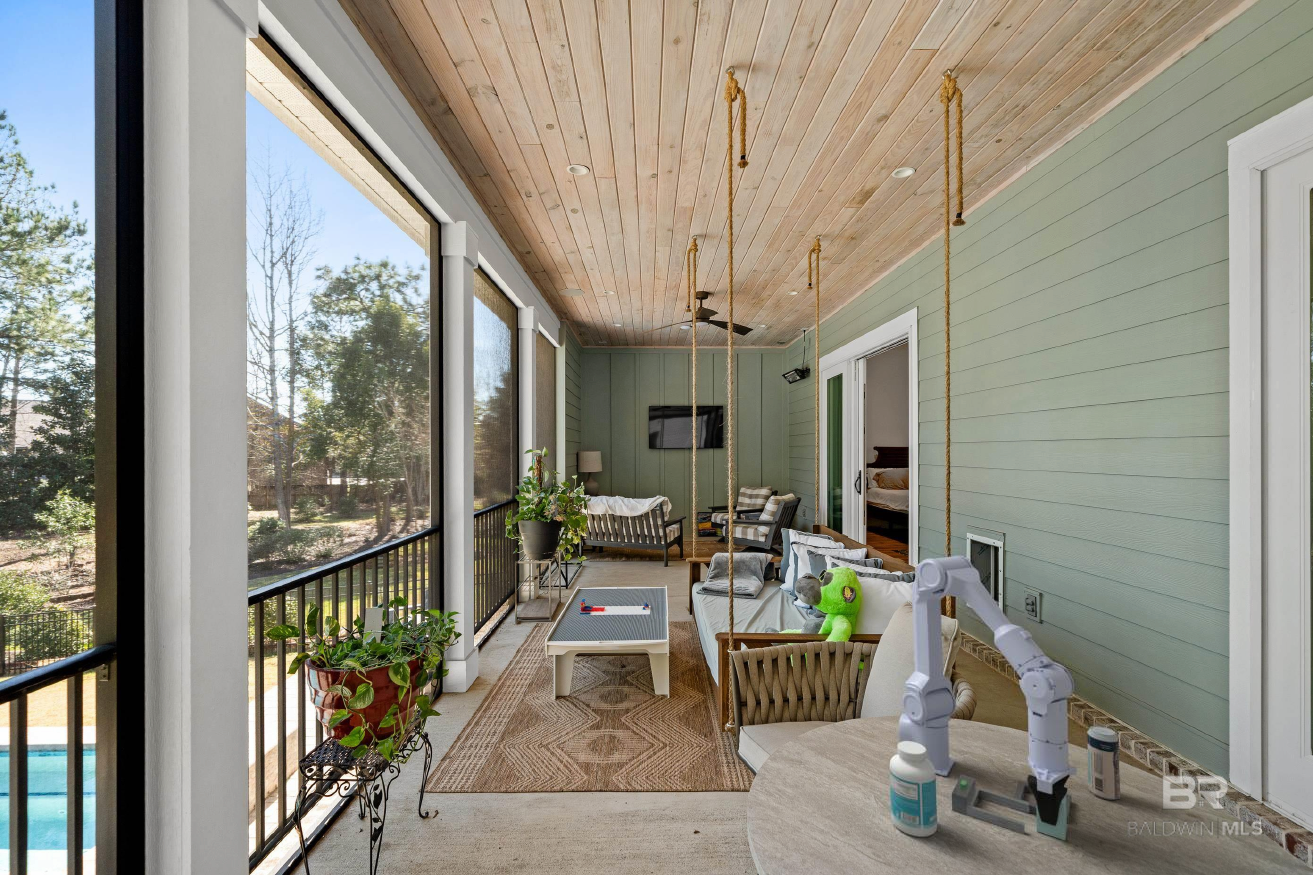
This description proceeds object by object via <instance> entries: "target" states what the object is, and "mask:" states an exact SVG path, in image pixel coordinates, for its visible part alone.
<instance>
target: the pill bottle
mask: <svg viewBox="0 0 1313 875" xmlns="http://www.w3.org/2000/svg"><path fill="white" fill-rule="evenodd" d="M896 748H897V754H895V755H893V756H892V757H891V758H890V761H889V785H890V786H889V787H890V788H889V789H890V790H889V791H890V792H889V793H890V817H891V821H892V823H893V825H894V827H896V828H897V829H898V830H899V831H901V832H902V833H905V834H907V835H909V836H914V837H920V838H925V837H930V836H931V835H933V834H935V833H936V831H937V829H938V816H937V815H938V809H937V808H938V806H937V780H936V776H937V775H936V773H935V768H934V766H933V764H932V763H931V762H930V761H929V760H928V759H926V757H927V754H926V748H925V747H924V746H923V745H921V744H919V743H916V742H911V741H903V742H900V743H899V742H898V743H897V747H896Z"/></svg>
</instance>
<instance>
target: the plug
mask: <svg viewBox="0 0 1313 875" xmlns="http://www.w3.org/2000/svg"><path fill="white" fill-rule="evenodd" d="M1035 804H1036V813H1037V814H1036V831H1037V833H1038V832H1039V833H1042V834H1045V835H1047V836H1051V837H1053V838H1056V839H1060V840H1063V841H1066V838H1067V833H1068V832H1067V829H1068V824H1067V809H1066V795H1065V797H1064V798H1063V800H1062V802H1061V804H1060V808H1059V815H1058V820H1057V824H1056V826H1053V825H1050V824H1047V823H1044V822H1042V821H1041V819H1040V815H1039V812H1038V807H1037V803H1036V802H1035Z"/></svg>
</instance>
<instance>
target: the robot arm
mask: <svg viewBox="0 0 1313 875" xmlns="http://www.w3.org/2000/svg"><path fill="white" fill-rule="evenodd" d="M914 569H915V570H914V571H915V578H914V581H913V583H912V588H911V597H912V600H911V602H912V628H913V631H912V633H913V654H914V655H913V660H914V661H913V662H914V671H913V673H912V674H911V675H910V676H909V677H908V679H907V680H906V681H905V683H904V685H905V686H904V693H903V694H902V699H901V703H902V708H903V710H904V713H902V714H901V715H900V717H899V721H898V732H897V733H898V736H897V737H898V743H900V742H903V741H911V742H916V743H919V744H921V745H923V746H924V747H925V748H926V754H927V757H926V759H928V760H929V761H930V762H931V763H932V764H933V766H934V768H935V773H936V774H937V775H940V776H944V777H947V776H948V775H949V773H950V772H951V769H952V767H953V766H954V764H955V762H956V761H955V760H956V759H955V758H953V757H951V756H950V741H949V740H950V735H949V734H950V733H949V727H950V726H949V722H950V721H951V715H953V714H954V713H955V712H956V710H957V700H956V696H955V695H954V692H953V682H952V681H951V680H950V679H949V678H948V677H946V676H945V674H944V661H943V660H944V657H943V656H944V655H943V632H942V631H943V629H942V625H943V624H942V602H941V601H942V599H944V597H946V596H950V597H954V598H959V599H962V600H964V601H965V602H966V603H967V604H968V606H969V607H971V609H972V610H973V611H974V612H975V614H977V616H978V617H979V618H980V619H981V620H982V621H983V622H984V623H985V624H986V625H987V627H988V628H989V629H990V630H991V631H992V632H993V633H994V640H993V642H994V645H995V646H996V648H997V649H998V650H999V652H1000V653H1001V654H1002V656H1004V658H1005V659H1006V661H1007V662H1008V663H1009V664H1010V666H1011V667H1012V668H1013V670H1014V671H1015V672H1016V673H1017V674H1018V676H1019V677H1020V678H1021V679H1018V684H1019V686H1020V689H1021V691H1022V693H1023V694H1024V697H1025V700H1026V706H1027V716H1028V718H1027V720H1028V721H1027V724H1028V756H1027V763H1028V765H1029V768H1030V769H1031V771H1032V772H1033V774H1034V775H1031V774H1027V778H1026V783H1028V785H1029V787H1030V789H1031V790H1032V792H1033V796H1034V799H1035V804H1036V803H1037V807H1038V812H1039V815H1040V819H1041V821H1042V822H1044V823H1047V824H1050V825H1053V826H1056V824H1057V820H1058V815H1059V808H1060V804H1061V802H1062V800H1063V798H1064V797H1065V795H1066V794H1067V793H1068V787H1066V786H1065V785H1066V783H1067V781H1068V780H1069V779H1070V777H1071V776H1078V775H1077V774H1078V768H1077V767H1076V766H1074V765H1070V764H1069V761H1070V760H1069V733H1068V732H1069V731H1068V730H1069V727H1068V726H1069V725H1068V722H1069V720H1068V699H1067V698H1068V697H1070V696H1071V695H1072V694H1073V692H1074V690H1075V682H1074V679H1073V676H1072V675H1071V674H1070V672H1069V671H1068V669H1067V668H1066V667H1065V666H1064V665H1062V664H1060V663H1058V662H1055V661H1053V660H1052V659H1051V658H1049V656H1047V655H1046V654H1045V652H1044V651H1043V650H1042V649H1041V647H1040V646H1039V645H1038V644H1037V643H1036V642H1035V641H1034V640H1033V638H1032V637H1033V635H1032V634H1031V633H1030V631H1029V630H1025V629H1024V627H1022V626H1020V625H1015V624H1013V623H1011V621H1010V620H1009V619H1008V618H1007V616H1006V615H1005V613H1004V612H1003V610H1002V609H1001V608H1000V606H999V605H998V604H997V602H996V601H995V599H994V598H993V597H992V595H991V594H990V592H989V591H988V590H987V588H985V586H984V584H983V582H981V578H980V572H979V570H978V569H976V568H975V567H974V566H973V564H972V562H971V561H970V560H969V559H968V558H967V557H965V556H963V555H960V554H959V555H953V556H947V557H945V556H944V557H939V558H926V559H924V560H922V561H920V563H918V564H917V565H915V567H914Z"/></svg>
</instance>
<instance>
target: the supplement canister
mask: <svg viewBox="0 0 1313 875" xmlns="http://www.w3.org/2000/svg"><path fill="white" fill-rule="evenodd" d="M1086 733H1087V734H1086V735H1087V741H1086V742H1087V773H1088V790H1089V791H1090V792H1091V793H1092V794H1094V795H1095V796H1097V797H1098V798H1101V799H1103V800H1104V799H1105V800H1109V801H1110V800H1111V801H1113V800H1114V801H1115V800H1118V799H1120V798H1121V779H1120V778H1121V777H1120V776H1121V774H1120V746H1119V745H1120V743H1119V742H1120V740H1119V737H1118V735H1117V732H1116V731H1114V730H1113V729H1111V728H1108V727H1105V726H1100V725H1091V726H1090V727H1089V730H1087V731H1086Z"/></svg>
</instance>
